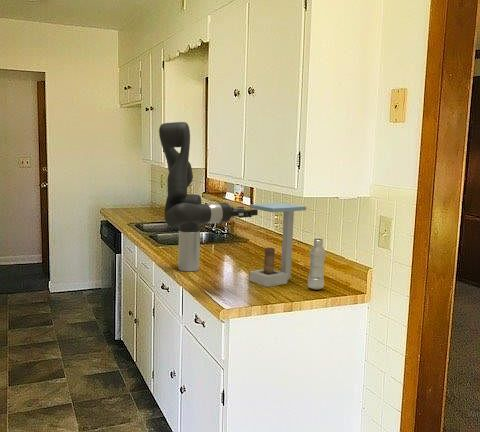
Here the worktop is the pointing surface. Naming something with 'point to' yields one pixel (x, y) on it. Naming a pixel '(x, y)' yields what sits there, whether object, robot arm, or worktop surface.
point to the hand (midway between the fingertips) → (250, 210)
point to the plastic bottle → (316, 265)
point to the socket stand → (287, 239)
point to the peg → (269, 261)
